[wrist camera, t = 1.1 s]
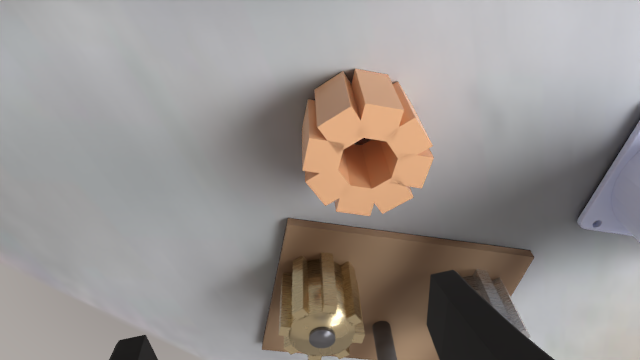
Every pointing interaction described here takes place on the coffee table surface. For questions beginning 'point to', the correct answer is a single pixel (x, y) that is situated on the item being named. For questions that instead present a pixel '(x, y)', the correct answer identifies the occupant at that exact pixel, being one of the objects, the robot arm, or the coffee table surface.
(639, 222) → the robot arm
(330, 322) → the gear
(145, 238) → the coffee table surface
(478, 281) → the gear
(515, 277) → the gear board
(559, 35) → the coffee table surface
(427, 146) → the idler gear
